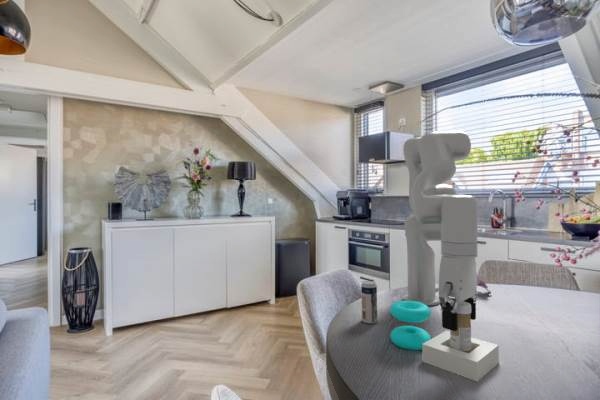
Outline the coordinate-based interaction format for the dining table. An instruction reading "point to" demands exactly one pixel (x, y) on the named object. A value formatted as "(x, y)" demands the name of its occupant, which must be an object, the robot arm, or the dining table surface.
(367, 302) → the beer can
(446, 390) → the dining table surface
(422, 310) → the donuts
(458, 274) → the robot arm
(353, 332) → the dining table surface
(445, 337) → the socket block
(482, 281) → the lily
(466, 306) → the sprinkles bottle
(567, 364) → the dining table surface
